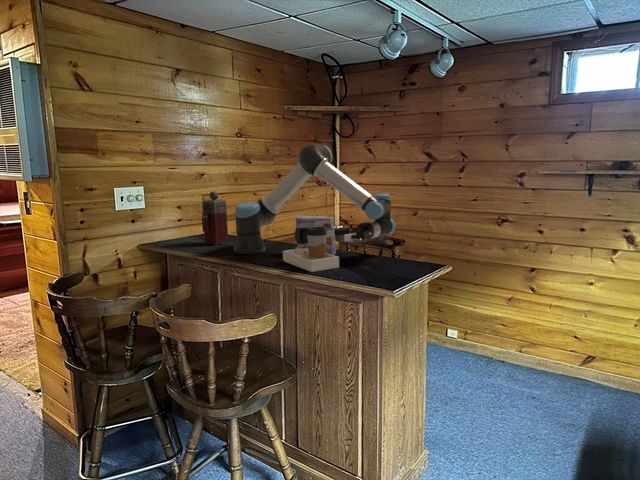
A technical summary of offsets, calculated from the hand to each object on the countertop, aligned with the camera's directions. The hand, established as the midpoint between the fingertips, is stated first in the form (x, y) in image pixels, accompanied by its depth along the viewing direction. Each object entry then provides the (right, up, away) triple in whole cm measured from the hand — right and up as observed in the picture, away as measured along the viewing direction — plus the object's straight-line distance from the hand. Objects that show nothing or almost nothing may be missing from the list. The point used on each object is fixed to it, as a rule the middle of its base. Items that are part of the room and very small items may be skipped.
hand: (333, 236), depth 203 cm
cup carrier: (-10, -12, +1) cm, 15 cm away
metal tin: (-13, -10, +6) cm, 18 cm away
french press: (-62, -4, +53) cm, 82 cm away
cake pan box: (-8, -8, +22) cm, 25 cm away
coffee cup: (-7, -12, -4) cm, 14 cm away
